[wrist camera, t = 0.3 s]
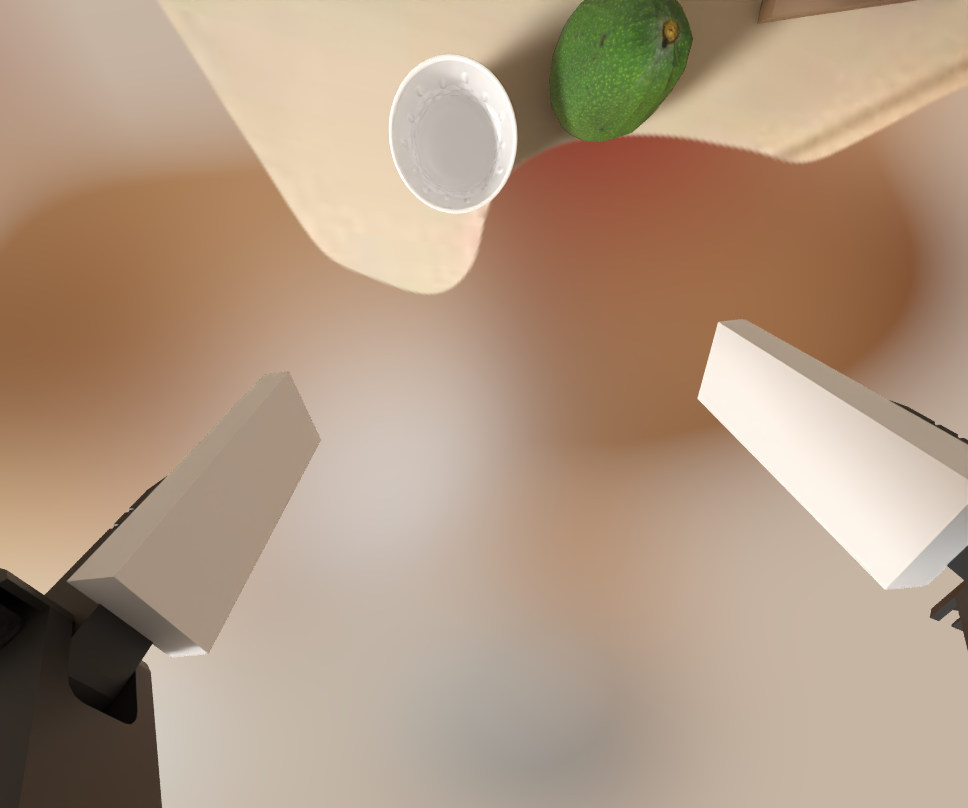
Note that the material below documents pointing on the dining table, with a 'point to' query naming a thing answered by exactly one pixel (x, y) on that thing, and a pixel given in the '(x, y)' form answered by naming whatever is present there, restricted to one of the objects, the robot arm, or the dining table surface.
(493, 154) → the white cup
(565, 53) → the avocado
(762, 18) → the cruet board
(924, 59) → the dining table surface
